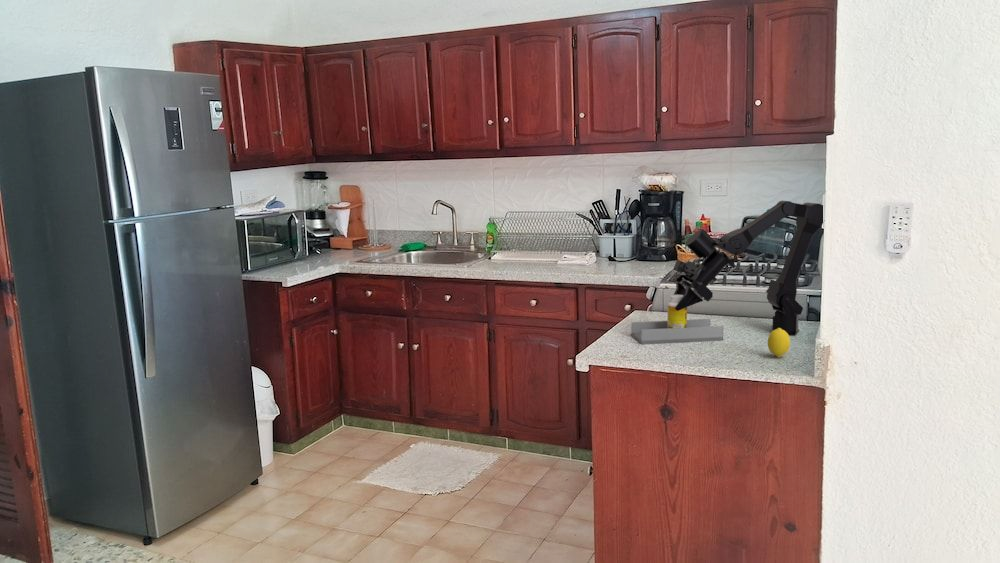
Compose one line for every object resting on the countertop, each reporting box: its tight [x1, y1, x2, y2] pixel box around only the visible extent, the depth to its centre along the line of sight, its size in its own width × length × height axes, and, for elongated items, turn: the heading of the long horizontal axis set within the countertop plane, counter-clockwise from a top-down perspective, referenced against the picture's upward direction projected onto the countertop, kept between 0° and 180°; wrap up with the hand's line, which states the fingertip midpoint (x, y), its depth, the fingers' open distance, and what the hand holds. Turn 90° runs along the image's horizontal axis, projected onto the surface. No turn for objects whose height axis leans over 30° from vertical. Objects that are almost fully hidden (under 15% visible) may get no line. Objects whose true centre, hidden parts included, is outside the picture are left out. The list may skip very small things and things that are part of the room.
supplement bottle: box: [667, 294, 688, 328], centre depth 230 cm, size 6×6×10 cm
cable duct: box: [630, 318, 724, 345], centre depth 231 cm, size 24×11×4 cm, turn 95°
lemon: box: [767, 328, 791, 358], centre depth 206 cm, size 6×6×8 cm
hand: (672, 307), depth 229 cm, fingers closed on supplement bottle, 5 cm apart
